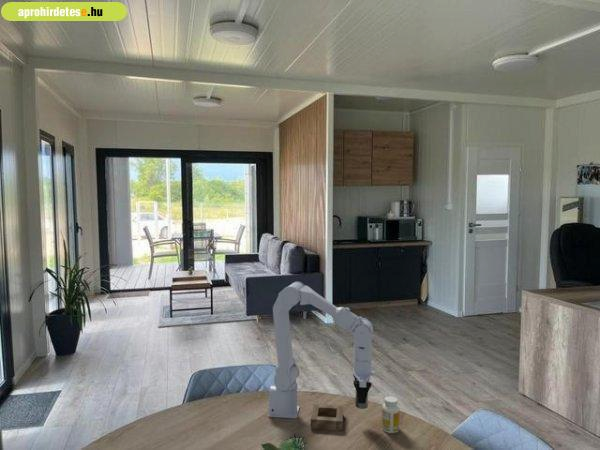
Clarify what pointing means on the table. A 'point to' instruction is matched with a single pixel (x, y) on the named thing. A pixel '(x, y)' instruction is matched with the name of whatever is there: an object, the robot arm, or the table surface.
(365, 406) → the grey cylinder
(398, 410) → the supplement bottle
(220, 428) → the table surface
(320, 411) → the socket block
